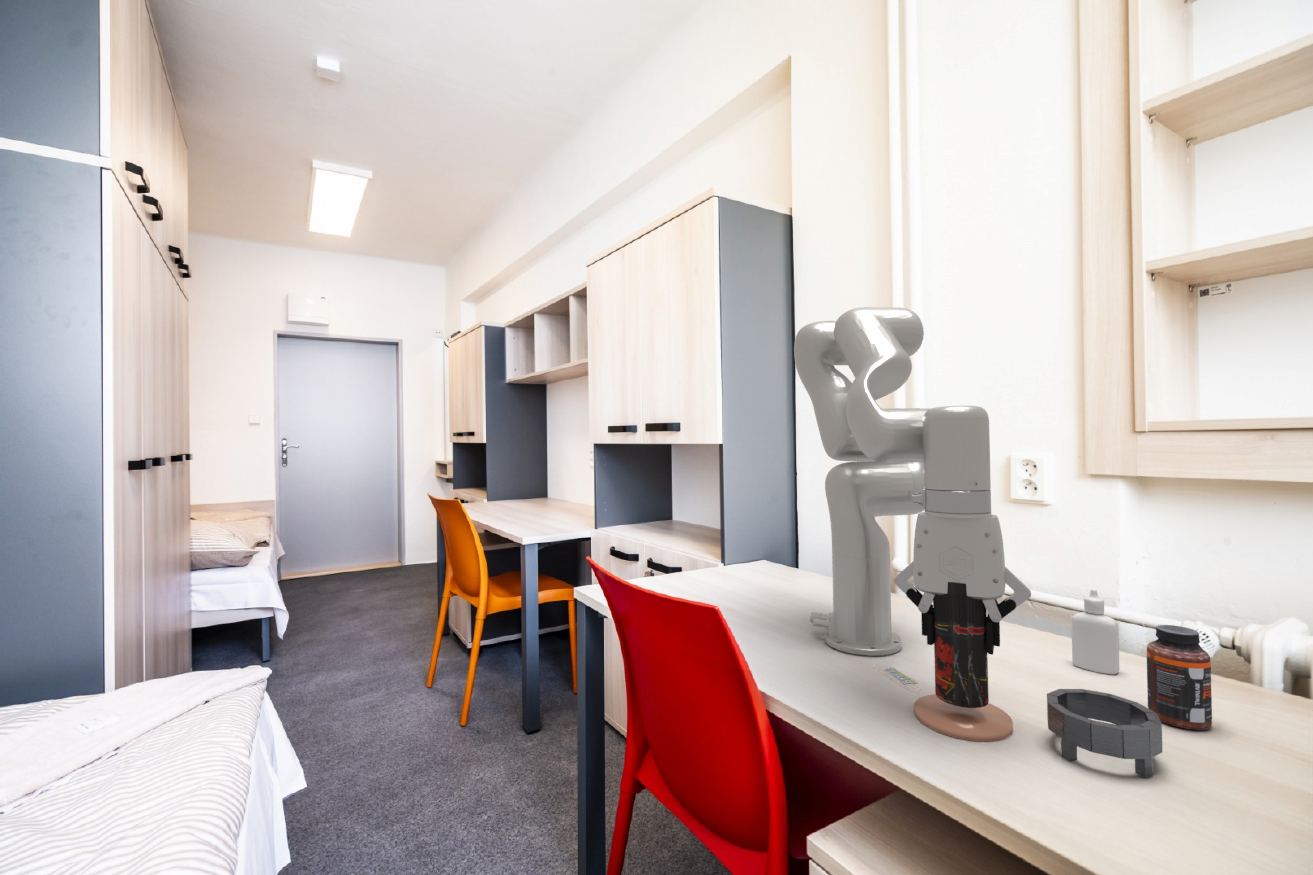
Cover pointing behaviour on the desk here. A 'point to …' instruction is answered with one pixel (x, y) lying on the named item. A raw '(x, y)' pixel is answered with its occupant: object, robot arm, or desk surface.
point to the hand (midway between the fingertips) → (960, 644)
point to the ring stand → (1105, 726)
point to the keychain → (899, 678)
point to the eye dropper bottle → (1095, 638)
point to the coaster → (963, 720)
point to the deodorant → (960, 648)
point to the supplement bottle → (1179, 678)
